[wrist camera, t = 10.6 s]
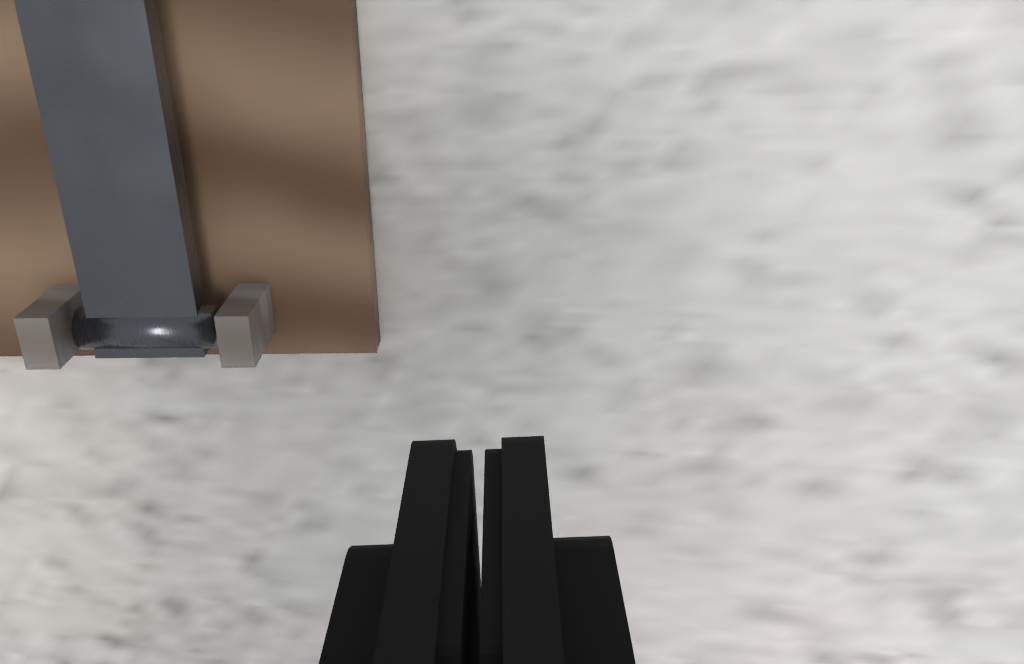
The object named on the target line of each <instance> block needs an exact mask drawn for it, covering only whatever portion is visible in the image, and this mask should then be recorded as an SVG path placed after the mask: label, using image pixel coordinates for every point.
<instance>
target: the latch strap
mask: <svg viewBox="0 0 1024 664" xmlns="http://www.w3.org/2000/svg"><path fill="white" fill-rule="evenodd" d="M14 4H15V8H16V12H17V17H18V21H19V25H20V30H21V34H22V39H23V43H24V47H25V52H26V56H27V60H28V65H29V69H30V74H31V78H32V82H33V87H34V91H35V95H36V100H37V104H38V109H39V113H40V117H41V122H42V126H43V130H44V135H45V139H46V144H47V148H48V152H49V157H50V161H51V165H52V170H53V174H54V179H55V183H56V187H57V192H58V196H59V200H60V205H61V209H62V214H63V218H64V222H65V227H66V231H67V235H68V240H69V244H70V248H71V253H72V257H73V262H74V266H75V270H76V275H77V279H78V283H79V288H80V292H81V297H82V301H83V305H84V306H80V307H78V308H77V309H76V310H75V312H74V315H73V318H72V326H71V329H72V337H73V340H74V343H75V345H76V346H77V347H78V348H79V349H81V350H88V349H94V353H95V358H158V357H205V355H206V354H207V352H208V351H209V349H210V348H219V347H218V341H217V334H216V328H215V321H214V316H215V314H216V313H217V312H218V310H219V309H220V308H221V307H220V306H219V305H206V304H205V298H204V292H203V286H202V280H201V274H200V268H199V262H198V256H197V250H196V243H195V237H194V231H193V225H192V219H191V213H190V207H189V201H188V195H187V189H186V183H185V177H184V171H183V165H182V158H181V152H180V146H179V140H178V134H177V128H176V122H175V116H174V110H173V104H172V98H171V92H170V86H169V79H168V73H167V67H166V61H165V55H164V49H163V43H162V37H161V31H160V25H159V19H158V13H157V7H156V1H155V0H14Z"/></svg>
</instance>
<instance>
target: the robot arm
mask: <svg viewBox="0 0 1024 664" xmlns="http://www.w3.org/2000/svg"><path fill="white" fill-rule="evenodd" d="M319 664H635V659H634V653H633V648H632V643H631V638H630V632H629V627H628V622H627V617H626V611H625V606H624V601H623V596H622V591H621V585H620V580H619V575H618V570H617V564H616V559H615V554H614V549H613V544H612V540H611V538H610V536H593V537H567V538H553V532H552V521H551V511H550V500H549V489H548V478H547V467H546V456H545V445H544V436H531V437H506V438H502V449H486V450H485V472H484V508H483V544H482V581H481V578H480V562H479V546H478V531H477V515H476V499H475V483H474V467H473V454H472V450H461V451H457V448H456V442H455V440H429V441H413V442H412V444H411V449H410V454H409V460H408V466H407V471H406V477H405V483H404V488H403V494H402V500H401V505H400V511H399V517H398V522H397V528H396V534H395V539H394V544H388V545H362V546H351V547H350V548H349V549H348V552H347V555H346V558H345V562H344V566H343V570H342V574H341V578H340V582H339V586H338V589H337V593H336V597H335V601H334V605H333V609H332V613H331V617H330V621H329V625H328V629H327V633H326V637H325V641H324V645H323V649H322V653H321V657H320V661H319Z"/></svg>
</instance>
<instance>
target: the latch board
mask: <svg viewBox="0 0 1024 664" xmlns="http://www.w3.org/2000/svg"><path fill="white" fill-rule="evenodd" d="M155 1H156V7H157V13H158V19H159V25H160V31H161V37H162V43H163V49H164V55H165V61H166V67H167V73H168V79H169V86H170V92H171V98H172V104H173V110H174V116H175V122H176V128H177V134H178V140H179V146H180V152H181V158H182V165H183V171H184V177H185V183H186V189H187V195H188V201H189V207H190V213H191V219H192V225H193V231H194V237H195V243H196V250H197V256H198V262H199V268H200V274H201V280H202V286H203V292H204V298H205V304H206V305H219V306H220V307H221V308H220V309H219V310H218V312H217V313H216V314H215V316H214V321H215V328H216V334H217V341H218V347H219V348H210V349H209V351H208V352H207V354H220V360H221V366H222V368H239V367H256V365H257V363H258V361H259V359H260V358H261V356H262V354H295V353H377V349H378V346H379V343H380V330H379V316H378V302H377V288H376V274H375V261H374V247H373V233H372V219H371V205H370V191H369V177H368V164H367V150H366V136H365V122H364V108H363V94H362V80H361V66H360V53H359V39H358V25H357V11H356V0H155ZM80 306H84V305H83V301H82V297H81V292H80V288H79V283H78V279H77V275H76V270H75V266H74V262H73V257H72V253H71V248H70V244H69V240H68V235H67V231H66V227H65V222H64V218H63V214H62V209H61V205H60V200H59V196H58V192H57V187H56V183H55V179H54V174H53V170H52V165H51V161H50V157H49V152H48V148H47V144H46V139H45V135H44V130H43V126H42V122H41V117H40V113H39V109H38V104H37V100H36V95H35V91H34V87H33V82H32V78H31V74H30V69H29V65H28V60H27V56H26V52H25V47H24V43H23V39H22V34H21V30H20V25H19V21H18V17H17V12H16V8H15V4H14V0H0V356H23V359H24V363H25V367H26V370H33V369H61V368H62V367H63V366H64V365H65V363H66V362H67V361H68V360H69V359H70V358H71V357H72V356H85V355H95V353H94V349H88V350H81V349H79V348H78V347H77V346H76V345H75V343H74V340H73V337H72V329H71V326H72V318H73V315H74V312H75V310H76V309H77V308H78V307H80Z"/></svg>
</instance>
